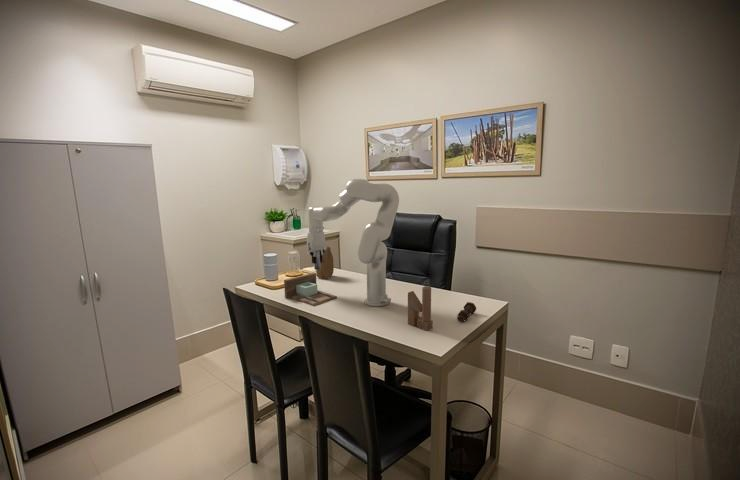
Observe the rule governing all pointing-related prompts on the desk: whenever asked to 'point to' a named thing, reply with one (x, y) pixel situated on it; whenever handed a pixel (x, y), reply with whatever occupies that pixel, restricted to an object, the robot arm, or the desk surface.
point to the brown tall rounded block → (326, 265)
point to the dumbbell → (466, 311)
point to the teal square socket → (307, 289)
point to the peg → (317, 265)
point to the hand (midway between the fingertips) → (317, 262)
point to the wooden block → (420, 309)
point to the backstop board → (311, 300)
